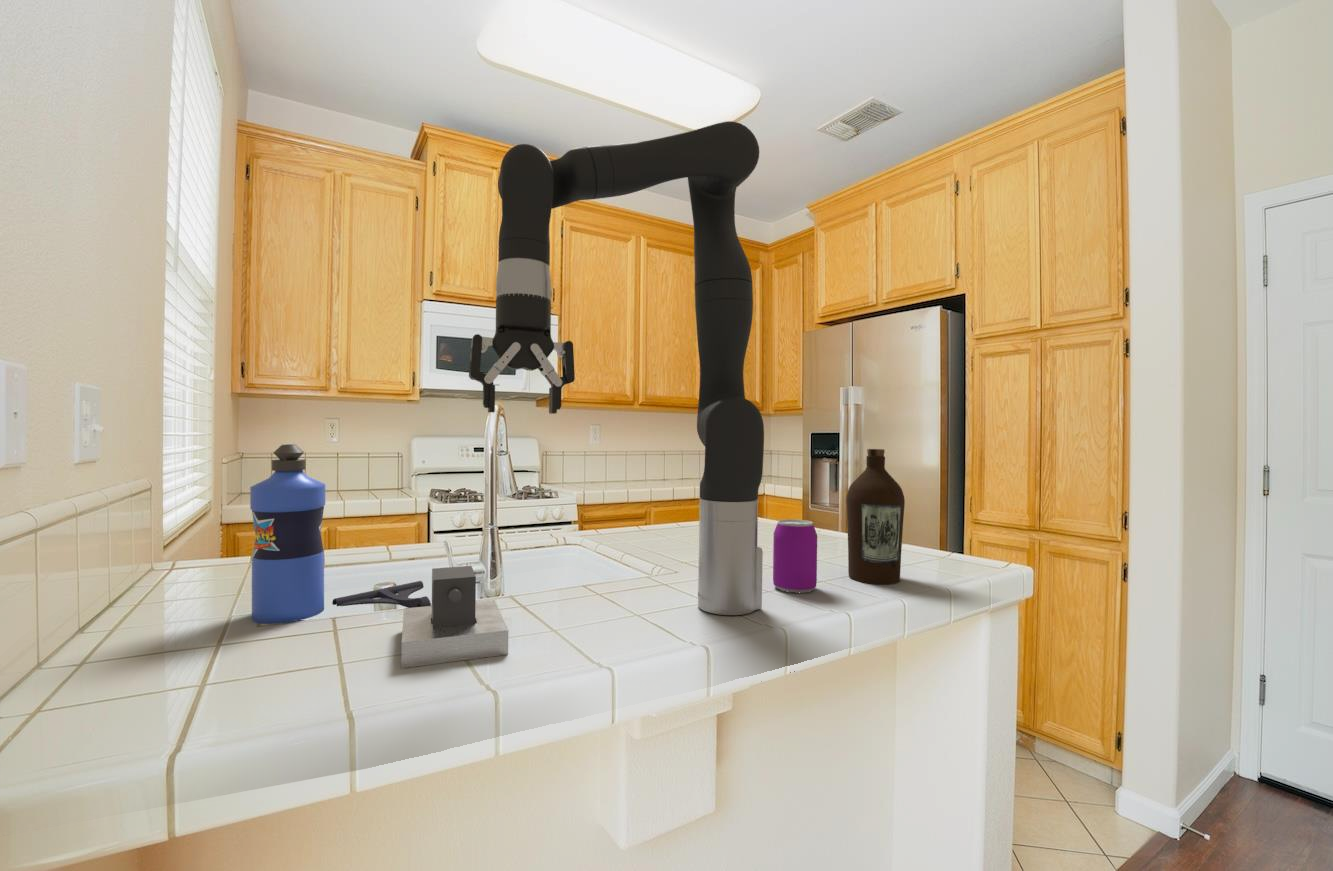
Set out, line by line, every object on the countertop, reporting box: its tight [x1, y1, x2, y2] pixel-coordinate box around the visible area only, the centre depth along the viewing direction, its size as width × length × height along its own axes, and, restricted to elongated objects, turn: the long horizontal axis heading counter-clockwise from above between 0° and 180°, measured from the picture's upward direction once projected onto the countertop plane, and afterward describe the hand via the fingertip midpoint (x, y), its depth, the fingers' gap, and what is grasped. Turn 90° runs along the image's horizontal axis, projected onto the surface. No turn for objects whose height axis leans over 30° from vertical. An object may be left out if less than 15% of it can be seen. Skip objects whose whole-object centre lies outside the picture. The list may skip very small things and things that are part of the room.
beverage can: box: [772, 518, 818, 594], centre depth 106 cm, size 8×8×12 cm
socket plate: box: [400, 599, 509, 669], centre depth 77 cm, size 12×14×3 cm
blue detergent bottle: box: [249, 443, 326, 625], centre depth 87 cm, size 9×9×25 cm
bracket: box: [331, 580, 432, 608], centre depth 94 cm, size 14×15×3 cm
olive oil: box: [845, 448, 906, 585], centre depth 114 cm, size 11×11×25 cm
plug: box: [431, 565, 477, 628], centre depth 76 cm, size 5×8×8 cm, turn 23°
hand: (522, 412), depth 83 cm, fingers open, 8 cm apart
